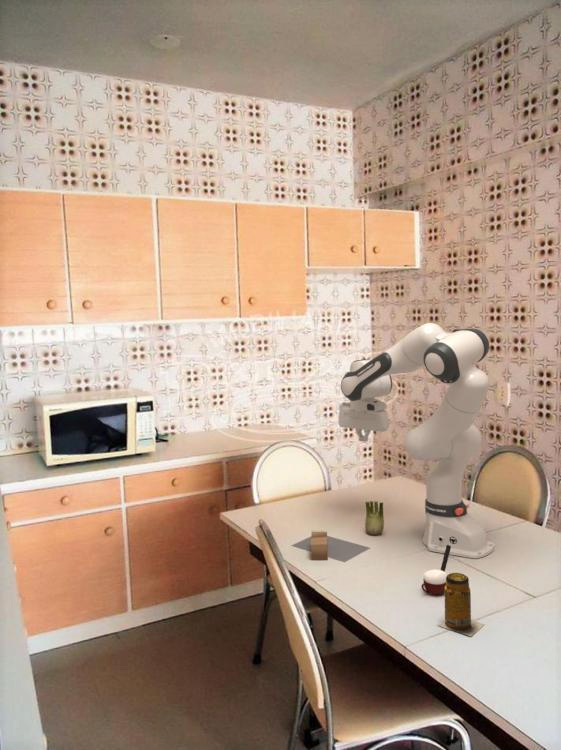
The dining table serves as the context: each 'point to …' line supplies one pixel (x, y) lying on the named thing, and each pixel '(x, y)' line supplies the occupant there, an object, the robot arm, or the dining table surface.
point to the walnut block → (319, 545)
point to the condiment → (458, 605)
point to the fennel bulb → (374, 518)
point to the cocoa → (436, 577)
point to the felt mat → (335, 548)
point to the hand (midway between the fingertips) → (363, 441)
